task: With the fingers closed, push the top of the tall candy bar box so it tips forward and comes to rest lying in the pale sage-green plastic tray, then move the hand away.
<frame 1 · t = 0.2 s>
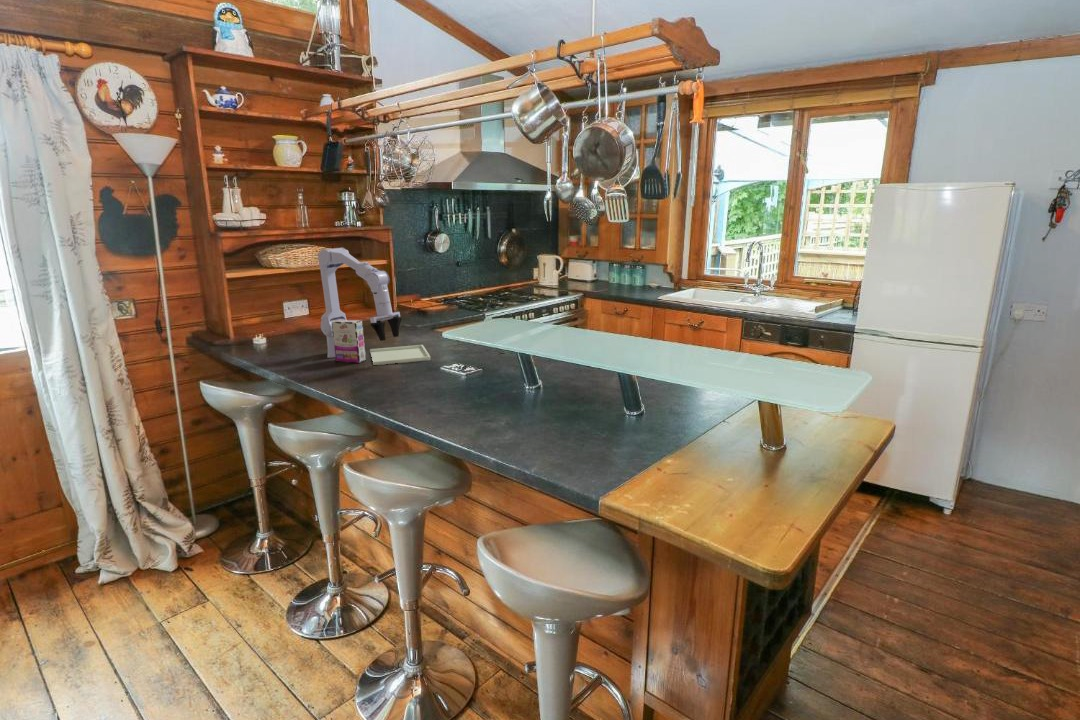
hand: (389, 338, 225), 11 cm above the worktop, tool pointing down, fingers open, 7 cm apart
tray: (399, 356, 241), on the worktop
candy bar box: (351, 361, 235), on the worktop
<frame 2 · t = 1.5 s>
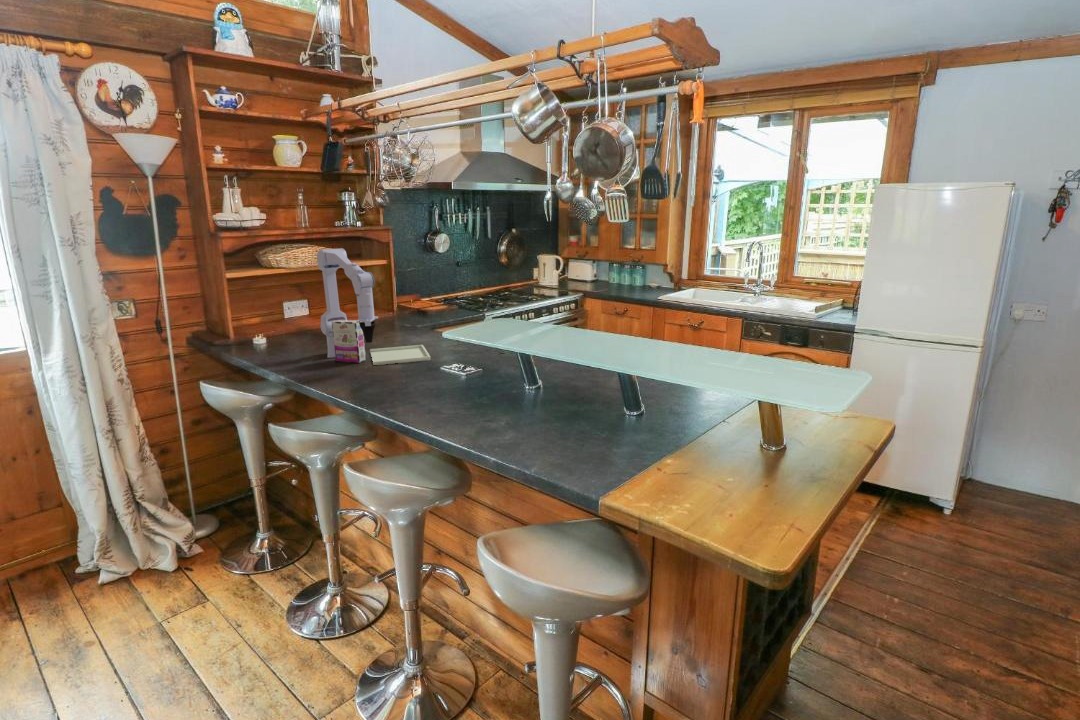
hand: (368, 341, 222), 10 cm above the worktop, tool pointing down, fingers open, 3 cm apart
nothing on the worktop moved.
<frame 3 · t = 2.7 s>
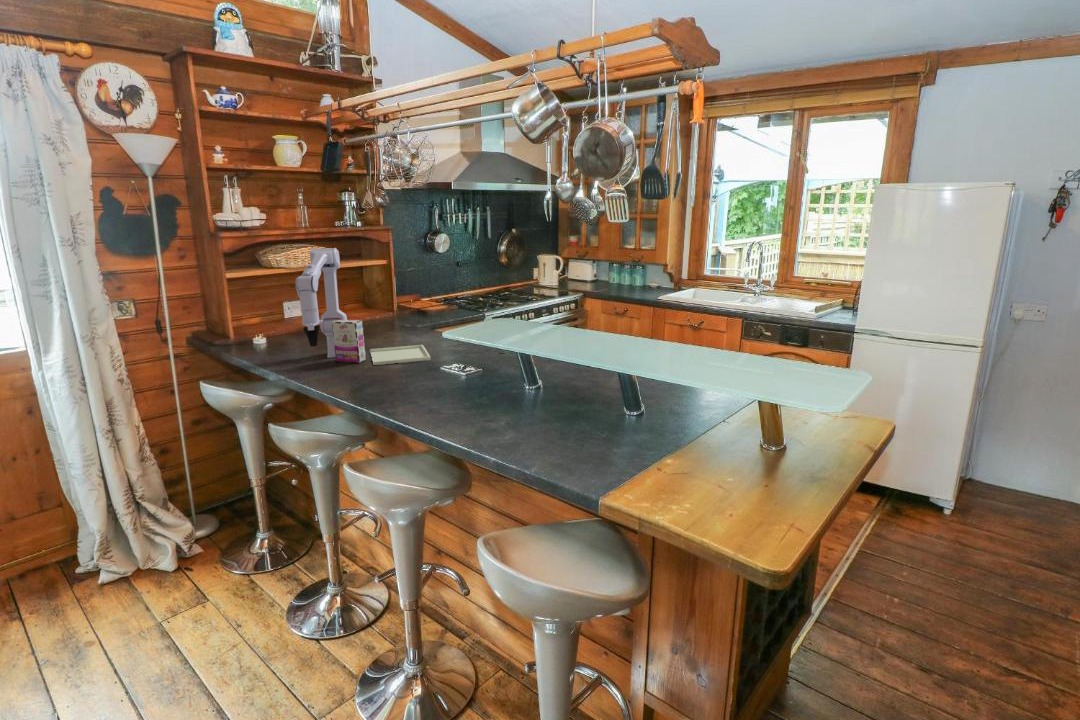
hand: (313, 346, 216), 10 cm above the worktop, tool pointing down, fingers closed
nothing on the worktop moved.
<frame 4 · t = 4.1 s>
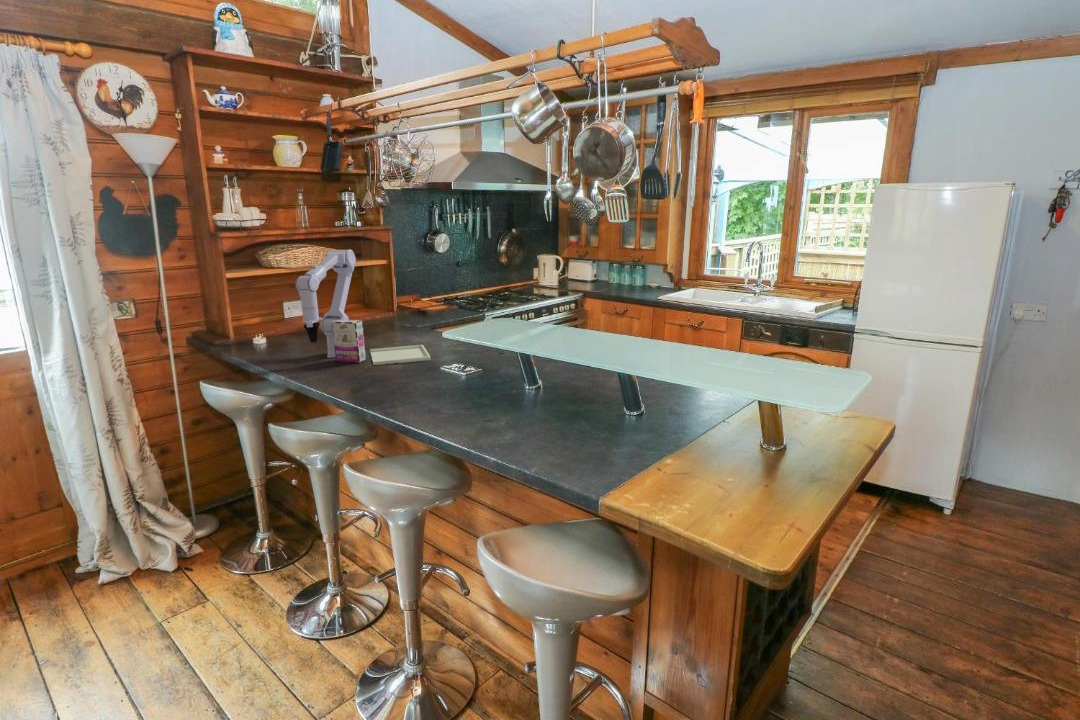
hand: (313, 342, 229), 9 cm above the worktop, tool pointing down, fingers closed
nothing on the worktop moved.
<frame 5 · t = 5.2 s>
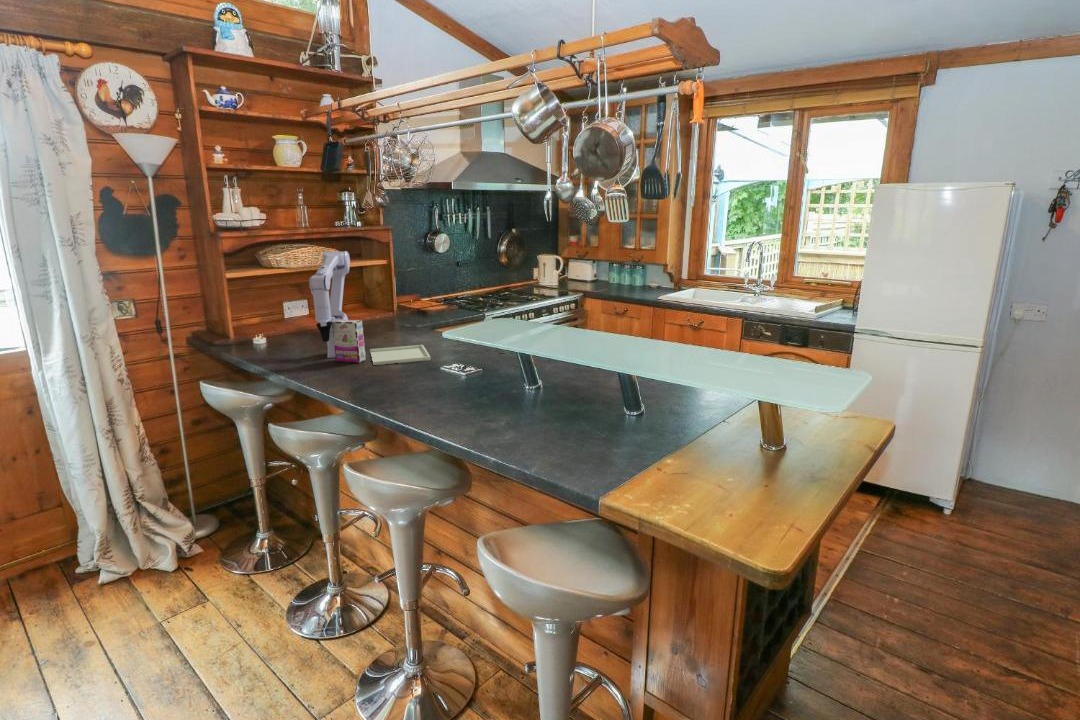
hand: (326, 341, 230), 9 cm above the worktop, tool pointing down, fingers closed
candy bar box: (351, 361, 235), on the worktop, touching gripper
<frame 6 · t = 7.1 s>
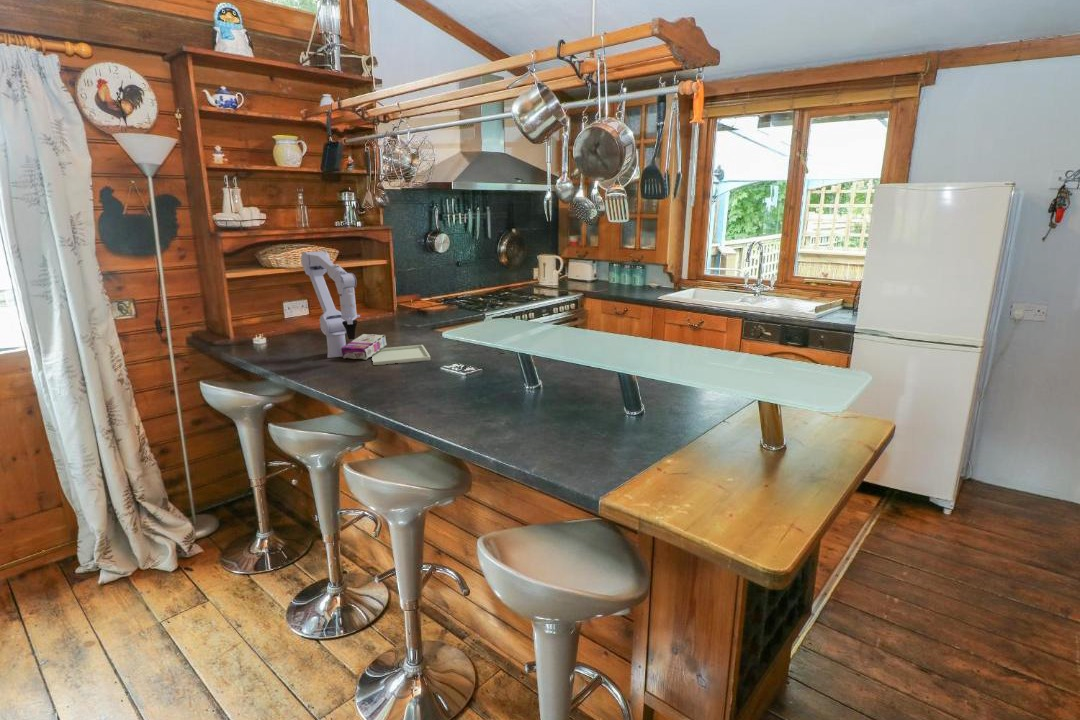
hand: (351, 339, 233), 9 cm above the worktop, tool pointing down, fingers closed
candy bar box: (353, 354, 236), point 2 cm above the worktop, touching tray
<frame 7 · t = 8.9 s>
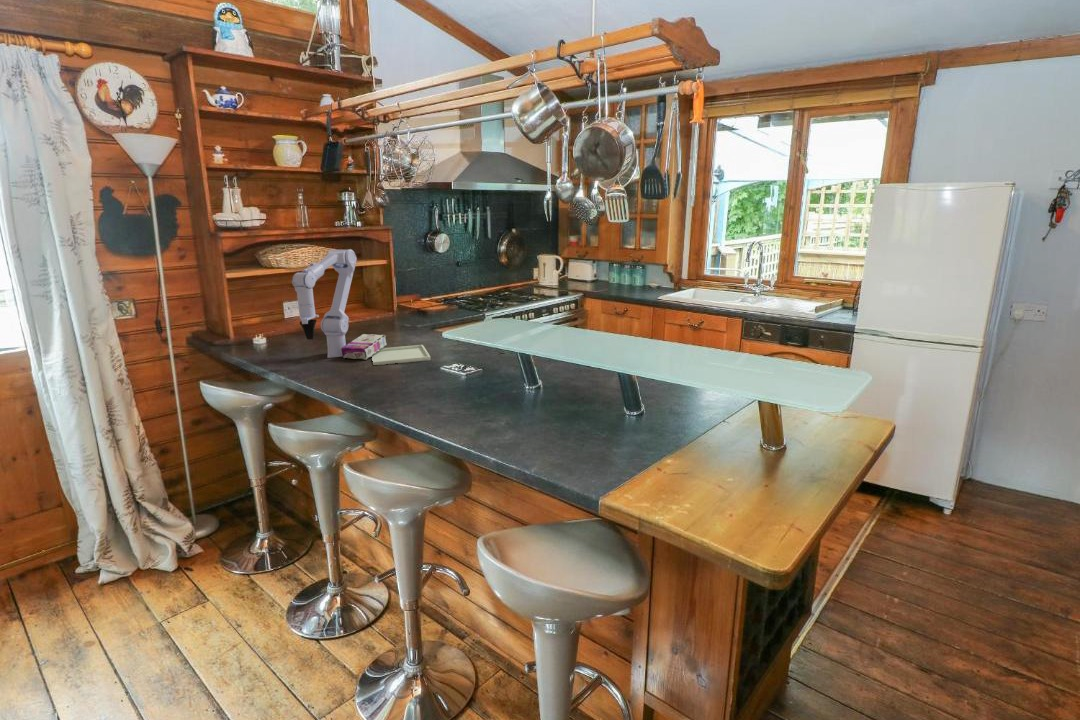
hand: (310, 338, 228), 10 cm above the worktop, tool pointing down, fingers closed
nothing on the worktop moved.
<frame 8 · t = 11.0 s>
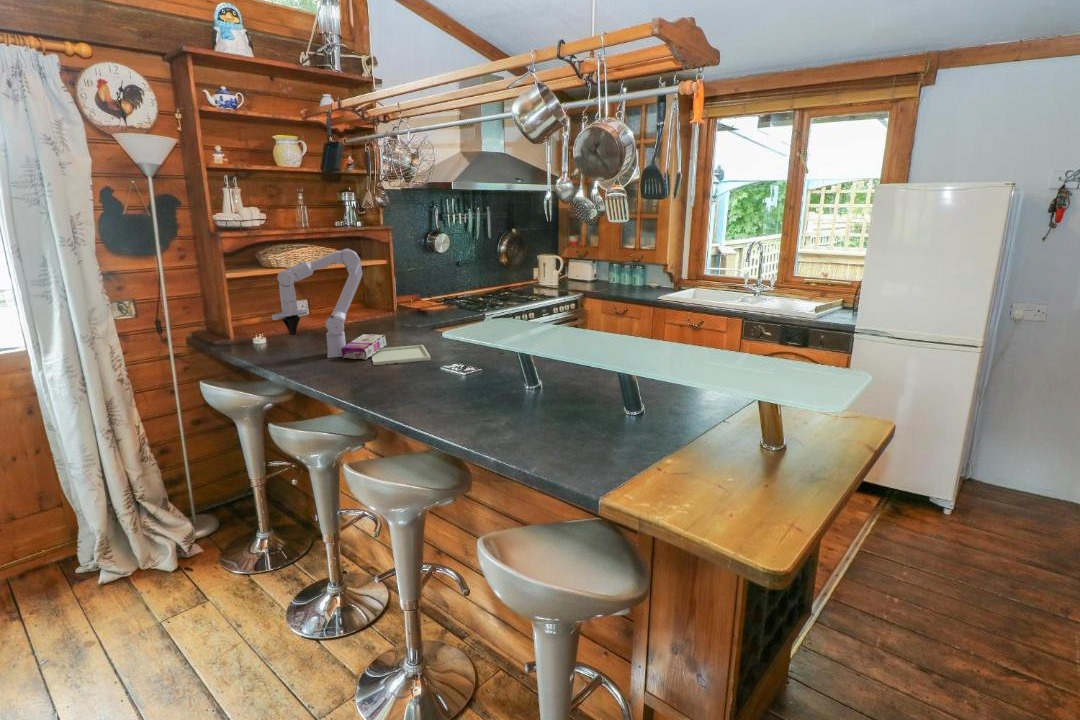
hand: (292, 334, 235), 10 cm above the worktop, tool pointing down, fingers closed
nothing on the worktop moved.
at the end: candy bar box tilted 81°; candy bar box touching worktop, tray; the gripper is holding nothing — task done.
